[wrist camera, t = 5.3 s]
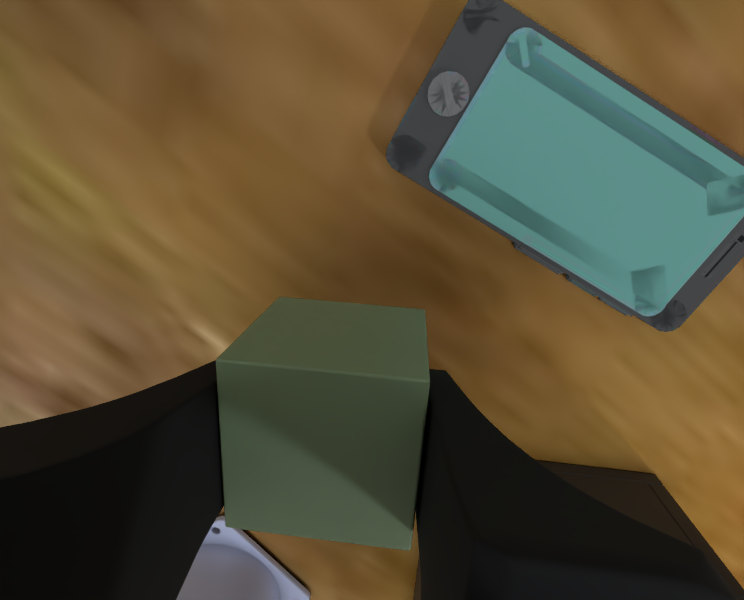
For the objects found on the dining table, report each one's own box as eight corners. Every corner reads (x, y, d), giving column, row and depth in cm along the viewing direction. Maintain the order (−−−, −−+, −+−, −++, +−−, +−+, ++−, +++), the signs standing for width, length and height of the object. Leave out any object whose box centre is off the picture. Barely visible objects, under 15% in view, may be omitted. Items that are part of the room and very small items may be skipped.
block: (412, 435, 13) (410, 552, 9) (279, 421, 13) (224, 528, 9) (425, 308, 11) (430, 381, 8) (278, 295, 12) (214, 359, 8)
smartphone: (478, -19, 16) (804, 194, 17) (473, -6, 17) (778, 192, 18) (377, 164, 18) (669, 343, 19) (379, 164, 19) (654, 332, 20)
